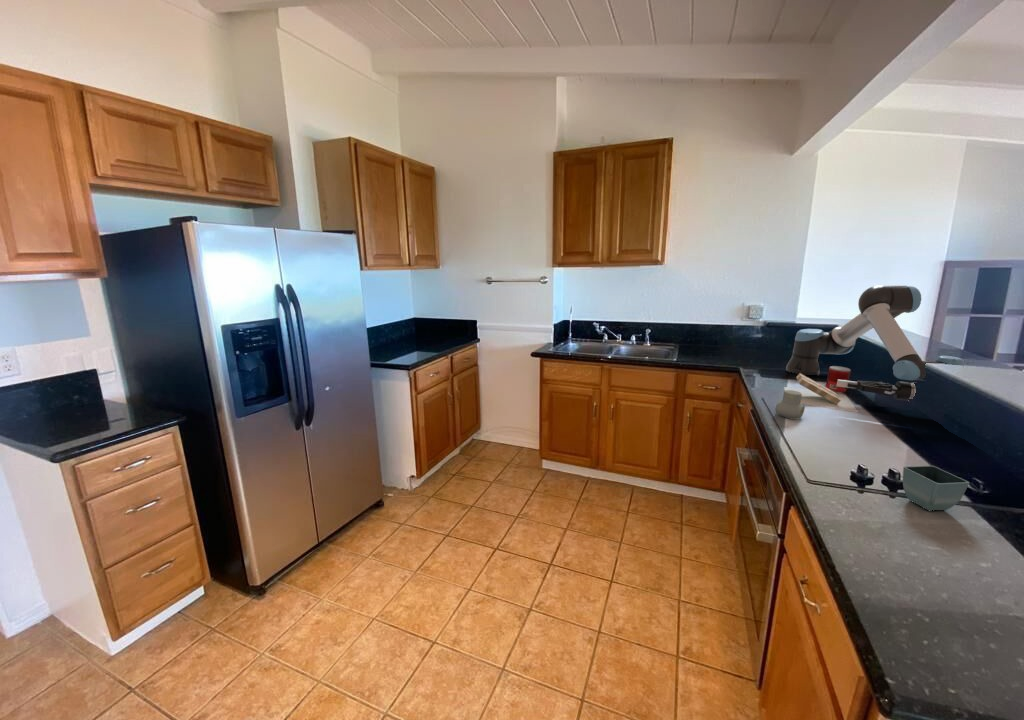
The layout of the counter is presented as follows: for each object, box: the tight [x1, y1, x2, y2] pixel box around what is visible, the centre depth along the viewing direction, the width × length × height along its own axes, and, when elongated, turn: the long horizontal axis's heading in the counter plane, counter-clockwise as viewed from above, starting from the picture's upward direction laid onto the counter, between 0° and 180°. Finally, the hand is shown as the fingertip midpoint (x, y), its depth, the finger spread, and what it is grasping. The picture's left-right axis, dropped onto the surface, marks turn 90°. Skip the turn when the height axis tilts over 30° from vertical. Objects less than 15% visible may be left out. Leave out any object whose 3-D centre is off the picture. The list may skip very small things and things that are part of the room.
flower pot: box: [902, 465, 970, 512], centre depth 108 cm, size 9×9×9 cm
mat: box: [783, 386, 859, 413], centre depth 188 cm, size 24×24×1 cm
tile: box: [796, 373, 841, 405], centre depth 187 cm, size 12×2×16 cm
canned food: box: [825, 365, 851, 393], centre depth 200 cm, size 8×8×11 cm
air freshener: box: [774, 390, 805, 420], centre depth 167 cm, size 11×8×10 cm
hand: (837, 382), depth 183 cm, fingers closed
